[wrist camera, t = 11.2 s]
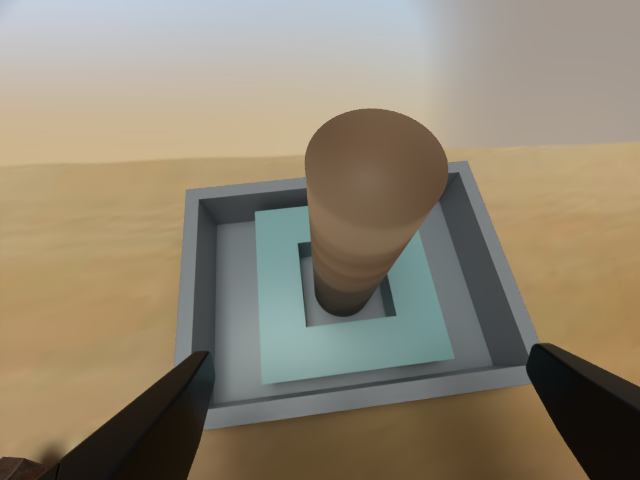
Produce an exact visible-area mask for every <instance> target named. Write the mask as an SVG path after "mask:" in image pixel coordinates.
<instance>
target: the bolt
mask: <svg viewBox="0 0 640 480" xmlns="http://www.w3.org/2000/svg"><path fill="white" fill-rule="evenodd" d="M46 470H48V468H47V467H45V466H43V465H41V464H39V463H36V462H34V461H31V460H28V459H25V458H13V457H2V458H1V459H0V480H35V479H36V478H38V477H39V476H40V475H41V474H43V473H44V472H45V471H46Z"/></svg>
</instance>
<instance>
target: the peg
mask: <svg viewBox="0 0 640 480" xmlns="http://www.w3.org/2000/svg"><path fill="white" fill-rule="evenodd" d="M305 173H306V186H307V199H308V212H309V225H310V238H311V251H312V265H313V278H314V291H315V297H316V299H317V302H318V303H319V305H320V306H321V307H322V309H323V310H325V311H326V312H327V313H329V314H331V315H334V316H337V317H348V316H352V315H354V314H356V313H358V312H359V311H361V310H362V309H363V307H364V306H365V305H366V303H367V302H368V300H369V299H370V298H371V296H372V295H373V293H374V292H375V290H376V289H377V288H378V286H379V285H380V283H381V282H382V280H383V279H384V278H385V276H386V275H387V273H388V272H389V270H390V269H391V267H392V266H393V265H394V263H395V262H396V260H397V259H398V257H399V256H400V255H401V253H402V252H403V250H404V249H405V247H406V246H407V245H408V243H409V242H410V240H411V239H412V237H413V236H414V235H415V233H416V232H417V230H418V229H419V227H420V226H421V225H422V223H423V222H424V220H425V219H426V217H427V216H428V214H429V213H430V212H431V210H432V209H433V207H434V206H435V204H436V203H437V202H438V200H439V199H440V197H441V196H442V194H443V192H444V190H445V187H446V184H447V180H448V163H447V158H446V155H445V152H444V150H443V148H442V146H441V144H440V143H439V141H438V140H437V138H436V137H435V136H434V135H433V134H432V133H431V132H430V131H429V130H428V129H427V128H426V127H424V126H423V125H422V124H420V123H419V122H417V121H416V120H414V119H412V118H410V117H408V116H405V115H403V114H400V113H397V112H394V111H389V110H383V109H359V110H353V111H350V112H346V113H344V114H341V115H338V116H336V117H334V118H332V119H331V120H329V121H328V122H326V123H325V124H324V125H323V126H321V127H320V128H319V129H318V130H317V132H316V133H315V134H314V135H313V137H312V139H311V141H310V142H309V145H308V147H307V150H306V155H305Z"/></svg>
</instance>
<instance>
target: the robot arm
mask: <svg viewBox="0 0 640 480" xmlns="http://www.w3.org/2000/svg"><path fill="white" fill-rule="evenodd" d="M526 372H527V375H528V377H529V379H530V381H531V383H532V384H533V386H534V388H535V390H536V392H537V394H538V395H539V397H540V399H541V401H542V403H543V405H544V406H545V408H546V410H547V412H548V414H549V416H550V417H551V419H552V421H553V423H554V425H555V426H556V428H557V430H558V431H559V433H560V435H561V436H562V438H563V439H564V441H565V442H566V444H567V446H568V447H569V449H570V450H571V452H572V453H573V455H574V456H575V458H576V459H577V461H578V462H579V464H580V465H581V467H582V468H583V470H584V471H585V473H586V474H587V476H588V477H589V479H590V480H640V387H639V386H637V385H635V384H633V383H631V382H629V381H627V380H625V379H623V378H621V377H619V376H617V375H614V374H612V373H610V372H608V371H606V370H604V369H602V368H600V367H598V366H596V365H594V364H592V363H590V362H588V361H586V360H584V359H582V358H580V357H578V356H576V355H574V354H571V353H569V352H567V351H565V350H563V349H561V348H559V347H557V346H555V345H553V344H550V343H536V344H534V345H533V346H532V347H531V350H530V353H529V357H528V360H527V363H526ZM214 383H215V369H214V363H213V358H212V354H211V352H210V351H195V352H193V353H192V354H191V355H189V356H188V357H187V358H186V359H185V360H183V361H182V362H181V363H180V364H178V365H177V366H176V367H175V368H173V369H172V370H171V371H170V372H168V373H167V374H166V375H165V376H163V377H162V378H161V379H160V380H158V381H157V382H156V383H155V384H153V385H152V386H151V387H150V388H148V389H147V390H146V391H145V392H144V393H142V394H141V395H140V396H139V397H137V398H136V399H135V400H134V401H132V402H131V403H130V404H129V405H127V406H126V407H125V408H124V409H122V410H121V411H120V412H119V413H117V414H116V415H115V416H114V417H112V418H111V419H110V420H109V421H107V422H106V423H105V424H104V425H103V426H101V427H100V428H99V429H98V430H96V431H95V432H94V433H93V434H91V435H90V436H89V437H88V438H86V439H85V440H84V441H83V442H81V443H80V444H79V445H78V446H76V447H75V448H74V449H73V450H71V451H70V452H69V453H68V454H66V455H65V456H64V457H63V458H62V459H61V460H60V462H57V463H55V464H54V465H53V466H51V467H50V468H49V469H48V470H46V471H45V472H44V473H43V474H41V475H40V476H39V477H38V478H36V479H35V480H187V477H188V474H189V472H190V469H191V466H192V463H193V460H194V457H195V455H196V452H197V449H198V446H199V443H200V440H201V436H202V432H203V428H204V424H205V420H206V416H207V412H208V408H209V404H210V400H211V396H212V392H213V387H214Z"/></svg>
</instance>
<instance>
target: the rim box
mask: <svg viewBox="0 0 640 480" xmlns="http://www.w3.org/2000/svg"><path fill="white" fill-rule="evenodd" d="M536 343H540V341H539V339H538V336H537V334H536V331H535V329H534V326H533V324H532V321H531V319H530V316H529V314H528V311H527V309H526V306H525V304H524V301H523V299H522V296H521V294H520V291H519V289H518V286H517V284H516V281H515V279H514V276H513V274H512V271H511V269H510V266H509V264H508V261H507V259H506V256H505V254H504V251H503V249H502V246H501V244H500V241H499V239H498V236H497V234H496V231H495V229H494V226H493V224H492V221H491V219H490V216H489V214H488V212H487V209H486V207H485V204H484V202H483V199H482V197H481V194H480V192H479V189H478V187H477V184H476V182H475V179H474V177H473V174H472V172H471V169H470V167H469V164H468V162H467V161H460V162H450V163H448V180H447V184H446V187H445V190H444V192H443V194H442V196H441V197H440V199H439V200H438V202H437V203H436V204H435V206H434V207H433V209H432V210H431V212H430V213H429V214H428V216H427V217H426V219H425V220H424V222H423V223H422V225H421V226H420V227H419V229H418V230H417V232H416V233H415V235H414V236H413V237H412V239H411V240H410V242H409V243H408V245H407V246H406V247H405V249H404V250H403V252H402V253H401V255H400V256H399V257H398V259H397V260H396V262H395V263H394V265H393V266H392V267H391V269H390V270H389V272H388V273H387V275H386V276H385V278H384V279H383V280H382V282H381V283H380V285H379V286H378V288H377V289H376V290H375V292H374V293H373V295H372V296H371V298H370V299H369V300H368V302H367V303H366V305H365V306H364V307H363V309H362V310H361V311H359V312H358V313H356V314H354V315H352V316H348V317H337V316H334V315H331V314H329V313H327V312H326V311H325V310H323V309H322V307H321V306H320V305H319V303H318V302H317V299H316V297H315V291H314V278H313V265H312V251H311V238H310V225H309V212H308V199H307V186H306V177H304V178H295V179H285V180H275V181H266V182H256V183H246V184H237V185H227V186H217V187H207V188H198V189H188V190H186V199H185V213H184V228H183V242H182V257H181V271H180V286H179V300H178V315H177V329H176V344H175V358H174V368H175V367H176V366H177V365H178V364H180V363H181V362H182V361H183V360H185V359H186V358H187V357H188V356H189V355H191V354H192V353H193V352H195V351H210V352H211V354H212V358H213V363H214V369H215V383H214V387H213V392H212V396H211V400H210V404H209V408H208V412H207V416H206V420H205V424H204V428H203V430H210V429H217V428H224V427H231V426H238V425H245V424H252V423H259V422H266V421H274V420H281V419H288V418H295V417H302V416H309V415H316V414H323V413H330V412H337V411H344V410H351V409H358V408H365V407H372V406H379V405H386V404H393V403H400V402H407V401H414V400H421V399H428V398H435V397H443V396H450V395H457V394H464V393H471V392H478V391H485V390H492V389H499V388H506V387H513V386H520V385H527V384H532V383H531V381H530V379H529V377H528V375H527V372H526V363H527V360H528V357H529V353H530V350H531V347H532V346H533V345H534V344H536Z"/></svg>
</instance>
